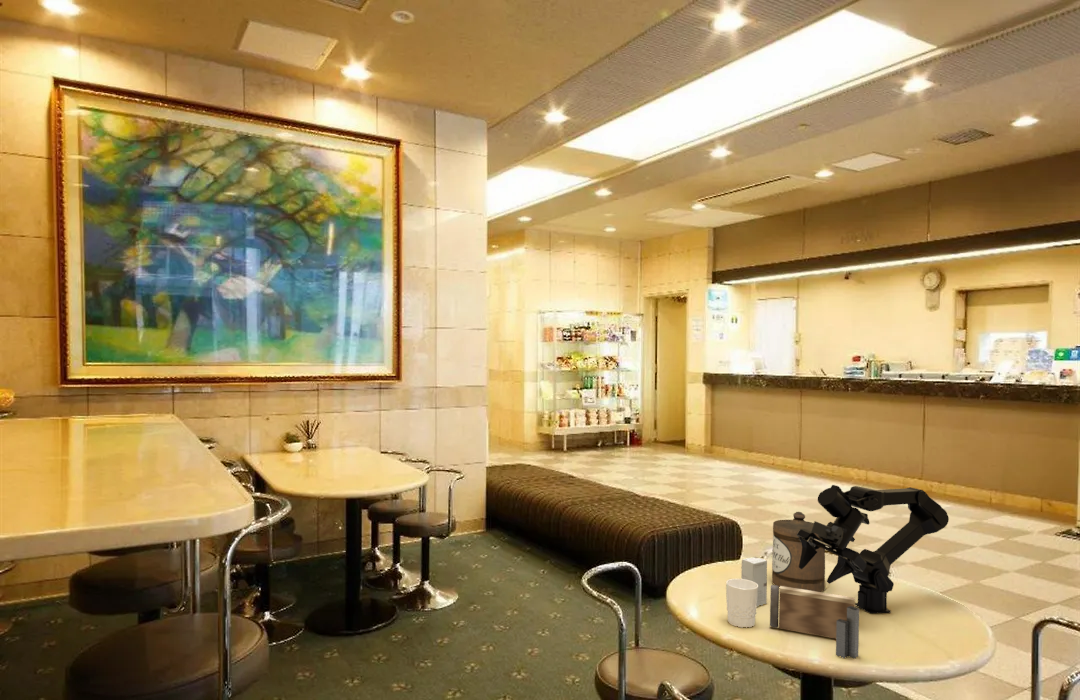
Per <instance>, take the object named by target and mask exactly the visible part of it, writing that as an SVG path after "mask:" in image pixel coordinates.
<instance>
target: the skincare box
mask: <svg viewBox="0 0 1080 700" xmlns="http://www.w3.org/2000/svg"><path fill="white" fill-rule="evenodd" d="M740 579H746V580H750V581H753V582H755V583H756V584H758V596H757V607H760V606H759V605H761V606H764V605H763V604H765V605H767V601H768V598H767V597H768V596H767V595H768V593H767V592H768V591H767V589H768V588H767V587H768V586H767V585H768V560H766V559H764V558H762V557H757V556H753V557H747V558H742V559H741V578H740Z"/></svg>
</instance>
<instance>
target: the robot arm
mask: <svg viewBox="0 0 1080 700" xmlns="http://www.w3.org/2000/svg"><path fill="white" fill-rule="evenodd" d="M817 502H818V504H819V505H820V506H821V507H822V508H823V509H824V510H825V511H826V512H827V513H828V514H830V516H832V518H835V519H834V521H833V522H832V521H829V522H828V523H827V525H826V524H823V523H820V522H818V521H816V520H815V521H814V522H813V523H814V524H813V527H812V530H811V531H809V530H806V529H804V528H803V529H800V530H799V532H798V533H797V536H798V537H799V540H800V542H801V543H802V553H801V558H800V563H799V568H800V569H803V568H804V567H805V566H806V565H807V564H808V562H809V561H810V560H811V559H812V558H813V557H814V556H815V555H816V553H817V551H816V549H819V548H822V549H825V551H827V552H829V553H831V554H834V555H836V556H837V563H835V566H834V568H833V569H832V570H831V572H830V574H829V575H828V577H827V579H826V582H827V583H828V584H832V583H834V582H836V581H837V580H839V579H841V578H843V577H845V576H847V575H849V574H852V576H853V581H854V583H856V584H859V585H858V588H859V590H858V591H857V602H855V607H857V608H859V609H861V610H863V611H865V612H866V613H868V614H889V613H891V612H892V611H891V609H888V608H887V606H888V605H887V604H888V601H887V599H888V593H889V592H892V591H893V589H894V584H895V583H894V582H893V581H892V579H891V578H890V577H889V575H890V571H891V565H893V563H894V562H896V561H897V560H898V559H900V557H901V556H902V555H904V553H906V552H907V551H908V550H909V549H910V548H911V547H913V546H914V545H916V543H917V542H919V541H920V539H922V538H923V537H924V536H927V535H931V534H935V533H937V532H939V531H941V530H943V529H944V528H946V526H947V525H948V524H949V519H950V518H949V515H948V512H947V510H946V509H944V508H943V507H942V505H940V504H939V503H938V502H936V501H935V500H934V499H933V498H932V497H930V496H929V494H927V492H926V491H924V490H923V489H920V488H915V487H906V488H889V489H874V488H868V487H863V486H859V485H858V486H857V485H853V486H851V487H850V490H849V489H848V490H846V491H843V489H841V487H840V486H838V485H836V484H832V485H831V486H830V487H829V488H825V489H824V490H822V491H821V492H820V493H819V494H818V496H817ZM899 505H907V509H908V510H909V511H910V513H909V518H908V522H907V523H905V525H904V526H903V527H901V528H900V529H899V530H898V531H897V532H896V533H894V534H893V535H892V536H890V538H888V540H886V541H885V542H884V543H883V544H882V545H880V546H879V547H878V548H877V549H876V550H874V551H872V550H870V549H868V548H867V549H866V548H865V549H862V550H861V551H860V552H859V551H856V550H854V549H852V548H849V547H848V545H849V544H850V543H851V542H852V543H855V540H856V538H855V537H854V536H855V534H856V532H858V529H859V528H860V527H861V525H862V524H865V525H870V519H869V517H868V513H865V512H862V511H861V510H863V511H866V512H875V511H878V510H879V511H880V510H881V509H883V508H884V507H886V506H899ZM814 533H816V534H818V536H819V537H820V538H821V539H822V540H820V539H819V538H818V537H817V536H816V535H815V534H814Z"/></svg>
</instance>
